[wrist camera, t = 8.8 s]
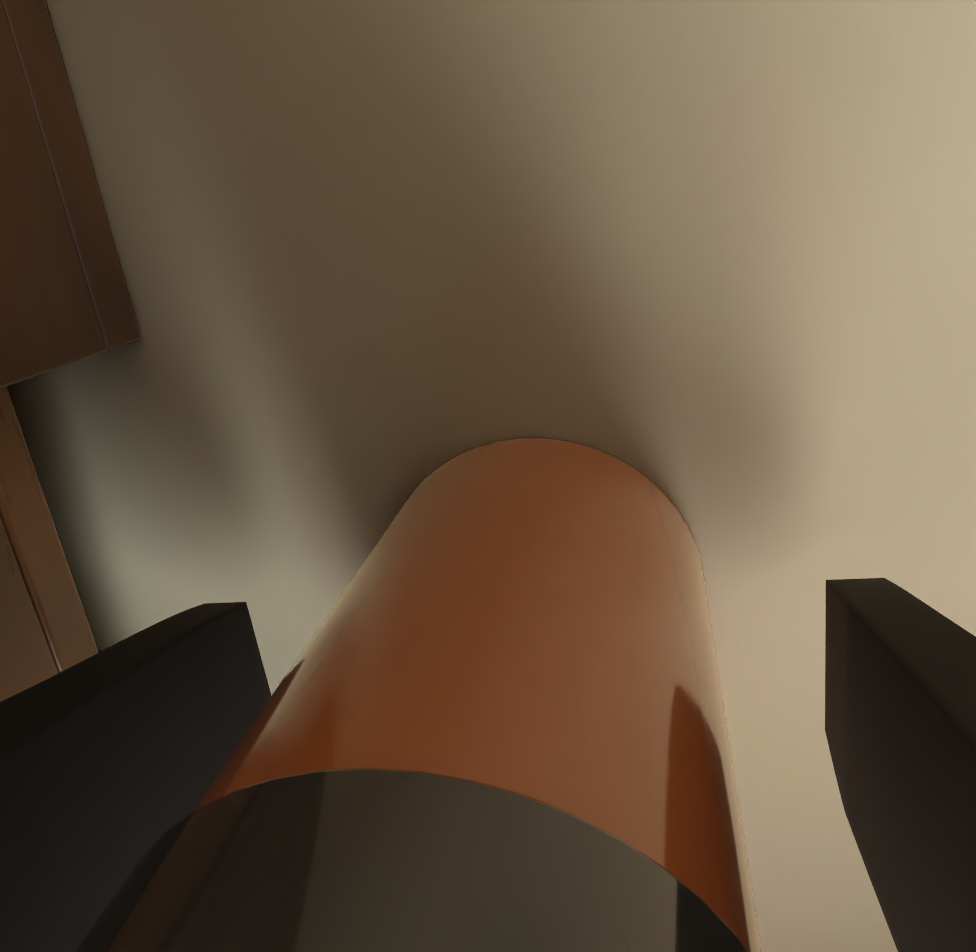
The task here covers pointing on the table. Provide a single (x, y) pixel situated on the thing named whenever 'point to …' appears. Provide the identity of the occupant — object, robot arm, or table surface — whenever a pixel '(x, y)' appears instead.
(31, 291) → the cabinet
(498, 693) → the spice jar
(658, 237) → the table surface
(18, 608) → the drawer
